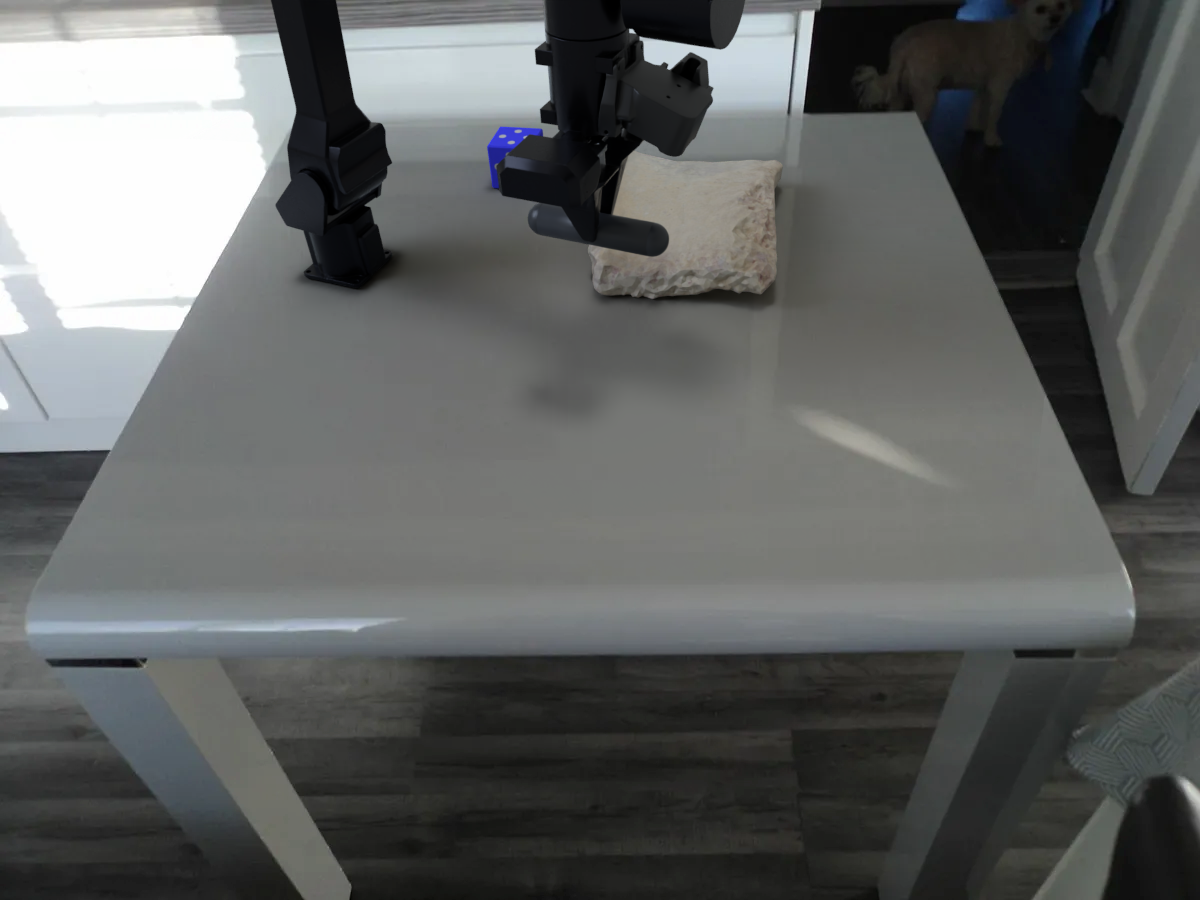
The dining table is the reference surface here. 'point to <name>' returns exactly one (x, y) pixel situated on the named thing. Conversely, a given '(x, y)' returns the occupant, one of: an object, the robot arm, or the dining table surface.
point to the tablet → (695, 228)
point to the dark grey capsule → (602, 231)
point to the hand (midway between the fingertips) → (596, 232)
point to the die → (506, 146)
